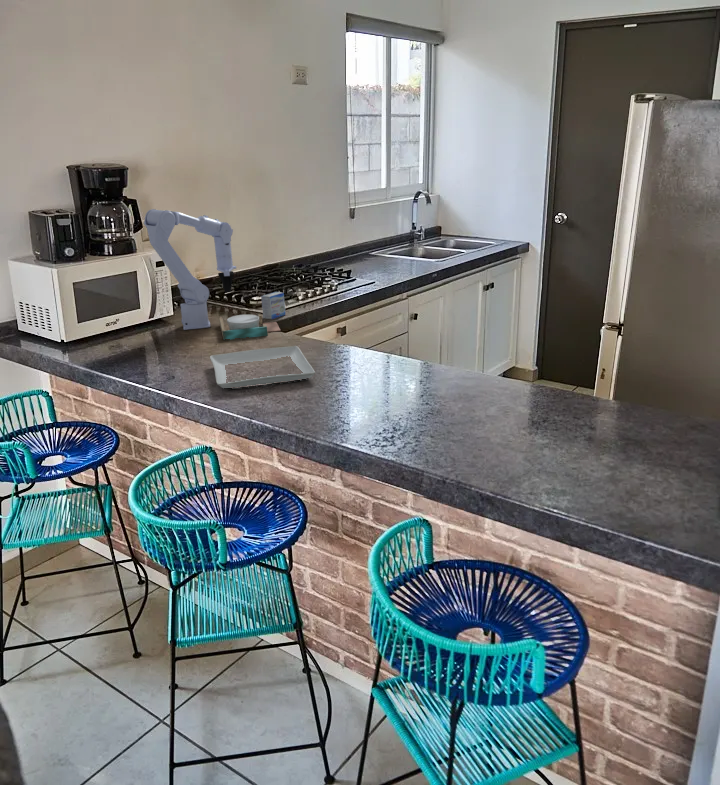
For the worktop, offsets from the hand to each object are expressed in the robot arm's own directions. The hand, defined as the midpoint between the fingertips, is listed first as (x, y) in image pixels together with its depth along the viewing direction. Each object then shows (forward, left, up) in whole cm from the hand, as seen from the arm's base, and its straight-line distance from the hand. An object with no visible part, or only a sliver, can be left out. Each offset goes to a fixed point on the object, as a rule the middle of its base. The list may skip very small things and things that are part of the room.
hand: (227, 291), depth 264 cm
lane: (+6, -20, -10) cm, 23 cm away
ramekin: (+3, -23, -10) cm, 26 cm away
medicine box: (+16, -5, -10) cm, 20 cm away
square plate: (+4, -69, -10) cm, 70 cm away
